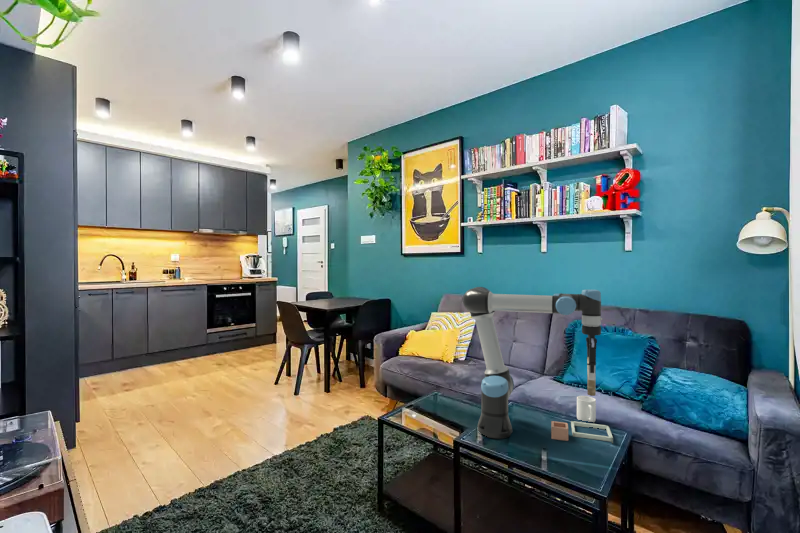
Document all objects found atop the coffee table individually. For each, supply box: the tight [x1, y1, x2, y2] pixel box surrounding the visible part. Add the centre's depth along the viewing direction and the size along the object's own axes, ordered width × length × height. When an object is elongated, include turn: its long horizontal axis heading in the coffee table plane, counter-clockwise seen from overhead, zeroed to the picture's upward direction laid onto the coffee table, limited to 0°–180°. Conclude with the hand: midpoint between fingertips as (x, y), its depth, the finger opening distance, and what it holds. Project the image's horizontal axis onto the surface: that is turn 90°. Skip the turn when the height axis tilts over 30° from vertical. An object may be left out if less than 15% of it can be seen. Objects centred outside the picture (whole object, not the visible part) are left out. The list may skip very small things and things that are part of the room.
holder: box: [550, 420, 569, 442], centre depth 170 cm, size 7×7×6 cm
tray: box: [570, 420, 614, 445], centre depth 174 cm, size 15×13×2 cm
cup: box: [576, 395, 597, 423], centre depth 189 cm, size 8×12×10 cm
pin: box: [586, 357, 597, 397], centre depth 174 cm, size 3×3×16 cm
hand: (591, 378), depth 174 cm, fingers closed on pin, 3 cm apart
